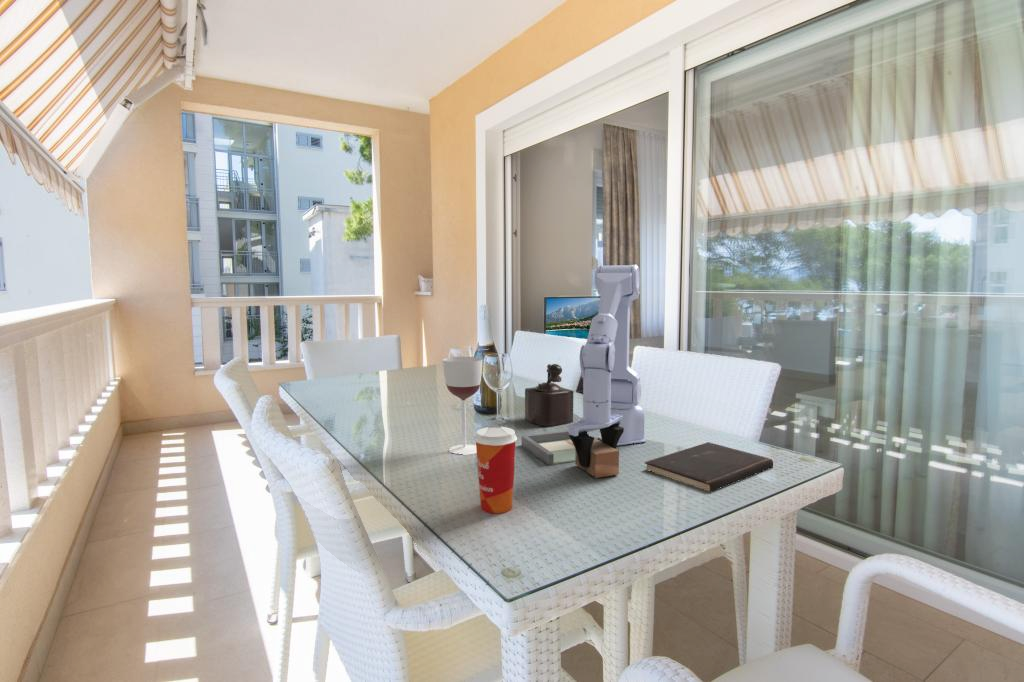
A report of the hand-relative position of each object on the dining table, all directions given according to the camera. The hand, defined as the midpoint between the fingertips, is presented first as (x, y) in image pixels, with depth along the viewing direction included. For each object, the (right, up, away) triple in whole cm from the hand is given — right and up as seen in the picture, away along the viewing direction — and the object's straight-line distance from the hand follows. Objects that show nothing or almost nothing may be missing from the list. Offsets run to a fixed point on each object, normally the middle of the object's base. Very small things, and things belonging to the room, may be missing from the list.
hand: (596, 462), depth 118 cm
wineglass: (-29, -1, +16) cm, 33 cm away
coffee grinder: (-6, +2, +39) cm, 40 cm away
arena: (-5, 0, +14) cm, 15 cm away
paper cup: (-21, -4, -18) cm, 28 cm away
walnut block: (0, -1, 0) cm, 1 cm away
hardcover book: (+24, -2, +1) cm, 24 cm away
